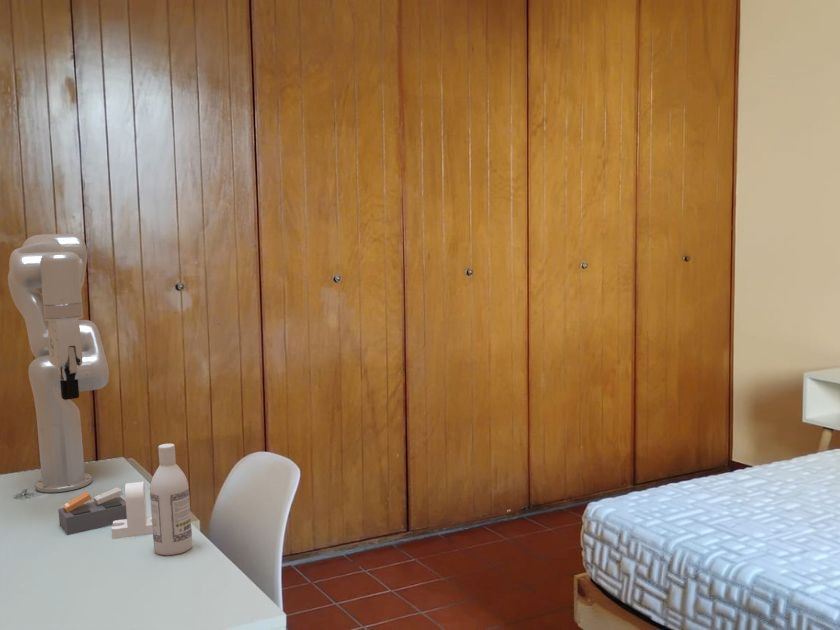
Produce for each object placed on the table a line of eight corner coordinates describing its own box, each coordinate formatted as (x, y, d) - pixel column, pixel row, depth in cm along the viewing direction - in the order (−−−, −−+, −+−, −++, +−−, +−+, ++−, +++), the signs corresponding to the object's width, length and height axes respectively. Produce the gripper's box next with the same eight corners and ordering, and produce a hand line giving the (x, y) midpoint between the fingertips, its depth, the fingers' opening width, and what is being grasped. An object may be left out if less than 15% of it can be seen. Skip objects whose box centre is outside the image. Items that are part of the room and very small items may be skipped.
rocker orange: (64, 509, 173) (62, 505, 172) (88, 495, 175) (86, 491, 175) (67, 512, 170) (65, 508, 170) (91, 498, 173) (89, 494, 172)
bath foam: (196, 541, 161) (190, 439, 159) (186, 555, 155) (179, 449, 152) (161, 542, 162) (153, 441, 159) (149, 557, 155) (141, 450, 153)
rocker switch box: (57, 522, 175) (55, 504, 175) (117, 509, 182) (116, 492, 182) (67, 534, 168) (65, 516, 167) (130, 520, 175) (129, 503, 174)
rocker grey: (94, 501, 176) (93, 496, 176) (119, 491, 179) (117, 486, 178) (98, 504, 174) (96, 499, 173) (122, 494, 176) (121, 489, 176)
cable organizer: (114, 530, 170) (110, 482, 169) (165, 523, 172) (161, 476, 171) (111, 539, 165) (108, 489, 163) (164, 532, 167) (161, 483, 166)
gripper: (37, 311, 180) (44, 395, 182) (52, 316, 168) (59, 406, 170) (74, 308, 184) (80, 391, 186) (91, 313, 172) (98, 401, 174)
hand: (70, 398), depth 178 cm, fingers closed
